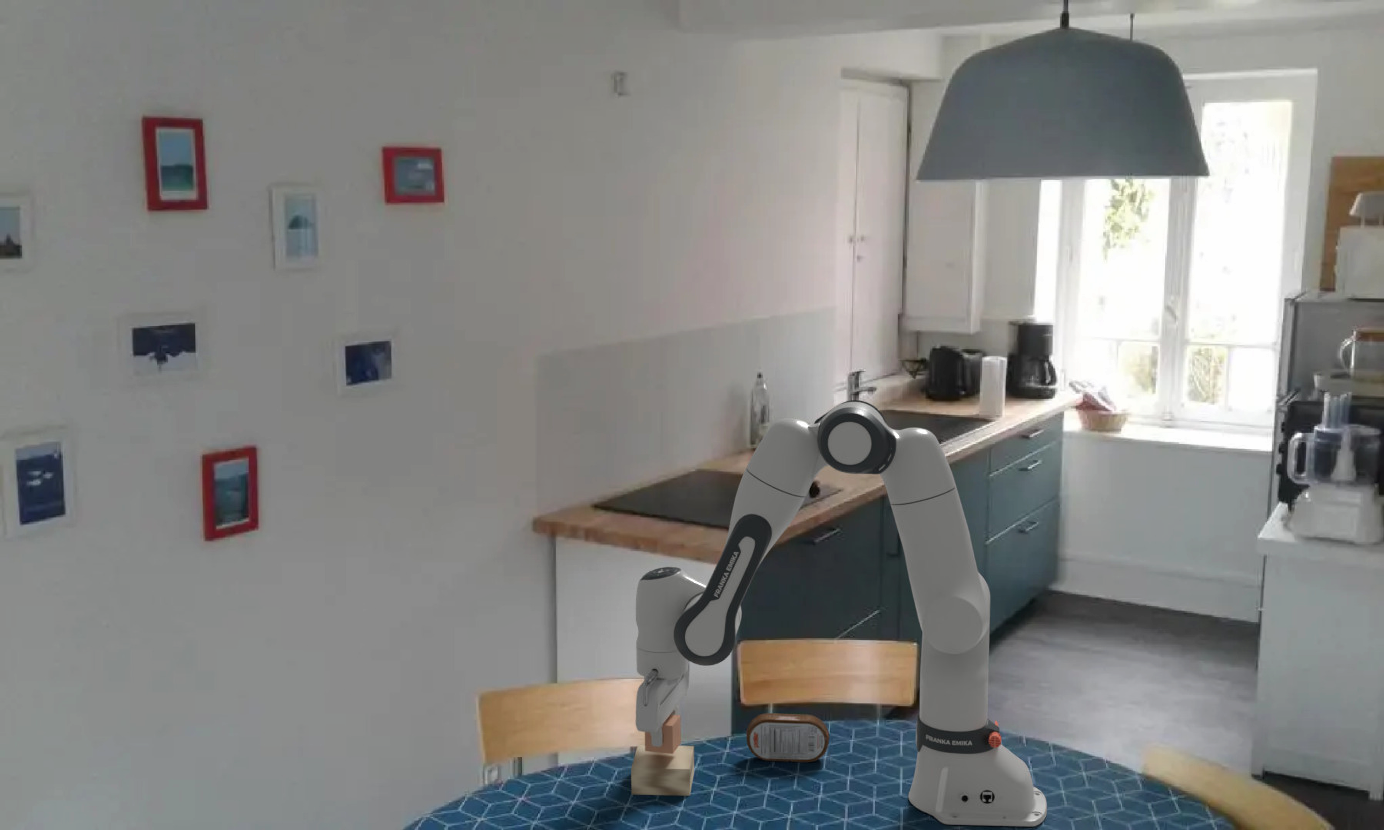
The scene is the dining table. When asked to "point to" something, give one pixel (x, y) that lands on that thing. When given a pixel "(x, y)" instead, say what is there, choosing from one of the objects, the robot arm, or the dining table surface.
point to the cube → (667, 736)
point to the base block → (663, 772)
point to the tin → (787, 737)
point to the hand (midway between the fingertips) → (663, 738)
